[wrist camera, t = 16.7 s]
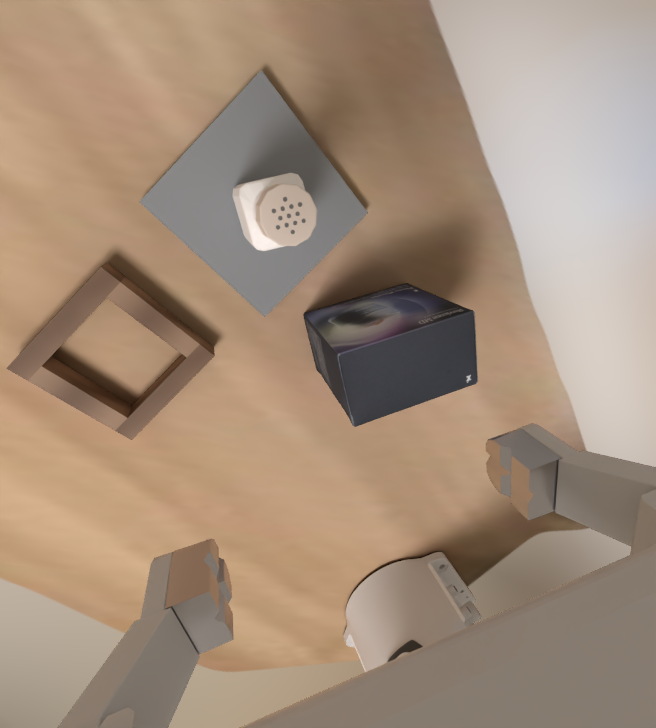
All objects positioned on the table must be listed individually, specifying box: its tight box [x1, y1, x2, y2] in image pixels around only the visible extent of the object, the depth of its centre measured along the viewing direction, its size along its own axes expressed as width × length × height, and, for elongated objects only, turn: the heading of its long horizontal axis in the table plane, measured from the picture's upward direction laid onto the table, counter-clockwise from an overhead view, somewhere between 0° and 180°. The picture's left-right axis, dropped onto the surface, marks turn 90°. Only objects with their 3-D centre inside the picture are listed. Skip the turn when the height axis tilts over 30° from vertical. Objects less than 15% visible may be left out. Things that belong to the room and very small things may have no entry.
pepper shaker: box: [232, 173, 317, 251], centre depth 25 cm, size 4×4×10 cm
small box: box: [304, 283, 478, 427], centre depth 32 cm, size 11×6×10 cm, turn 102°
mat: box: [140, 70, 368, 317], centre depth 29 cm, size 12×12×1 cm
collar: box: [7, 263, 215, 440], centre depth 30 cm, size 10×10×2 cm
